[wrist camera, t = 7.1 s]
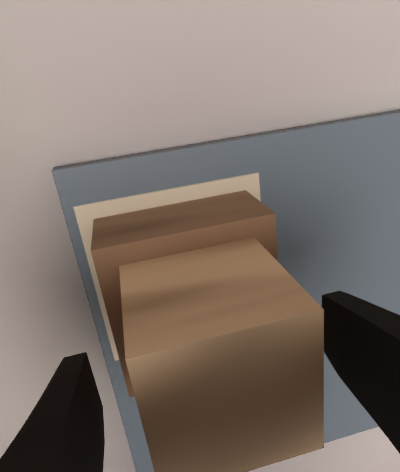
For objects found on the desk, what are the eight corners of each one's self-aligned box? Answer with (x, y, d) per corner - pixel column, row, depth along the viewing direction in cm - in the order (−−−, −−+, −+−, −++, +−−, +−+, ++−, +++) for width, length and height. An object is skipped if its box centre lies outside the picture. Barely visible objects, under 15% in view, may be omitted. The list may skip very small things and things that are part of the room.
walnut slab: (255, 315, 18) (282, 357, 15) (125, 346, 17) (129, 397, 14) (245, 190, 15) (275, 213, 13) (93, 219, 14) (90, 250, 12)
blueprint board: (386, 414, 24) (393, 423, 23) (143, 487, 21) (144, 500, 21) (414, 107, 16) (426, 108, 16) (53, 167, 14) (51, 171, 13)
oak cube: (262, 345, 15) (323, 447, 10) (145, 375, 14) (161, 498, 10) (254, 237, 13) (323, 309, 9) (119, 265, 12) (125, 359, 8)
